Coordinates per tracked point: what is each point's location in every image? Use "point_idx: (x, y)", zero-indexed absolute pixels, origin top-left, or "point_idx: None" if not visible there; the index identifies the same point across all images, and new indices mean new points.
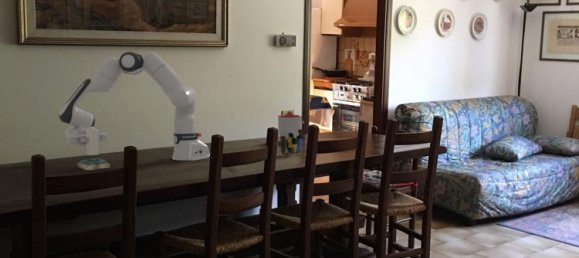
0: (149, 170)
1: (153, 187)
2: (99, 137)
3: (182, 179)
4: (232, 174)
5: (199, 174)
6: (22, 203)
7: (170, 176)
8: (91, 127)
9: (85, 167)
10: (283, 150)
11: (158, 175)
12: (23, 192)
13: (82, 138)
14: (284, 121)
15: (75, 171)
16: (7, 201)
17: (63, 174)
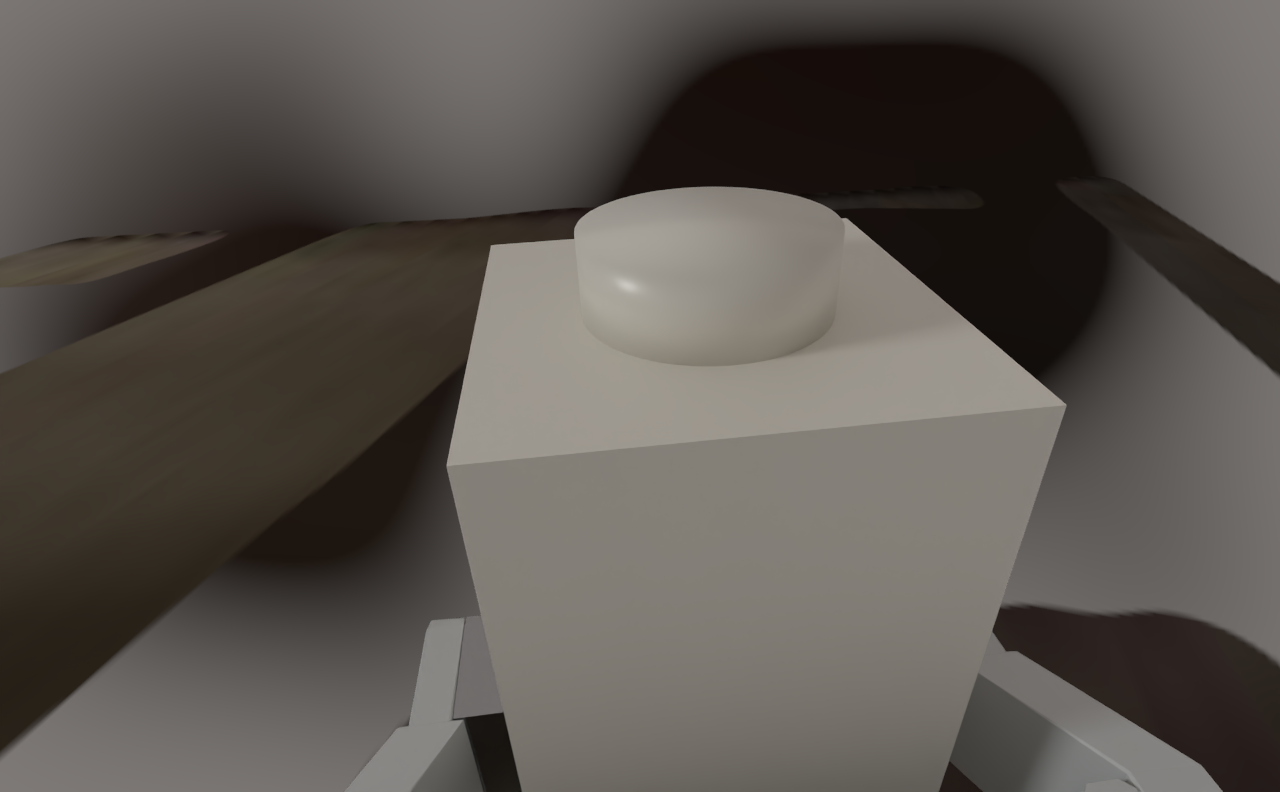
0: (294, 455)
1: (576, 222)
2: (436, 620)
3: (382, 259)
4: (136, 257)
5: (223, 291)
6: (1100, 209)
7: (366, 303)
8: (738, 194)
9: None
10: None
11: (392, 333)
12: (1200, 294)
13: (1090, 711)
14: None
15: None
16: (1190, 230)
17: (1133, 650)
